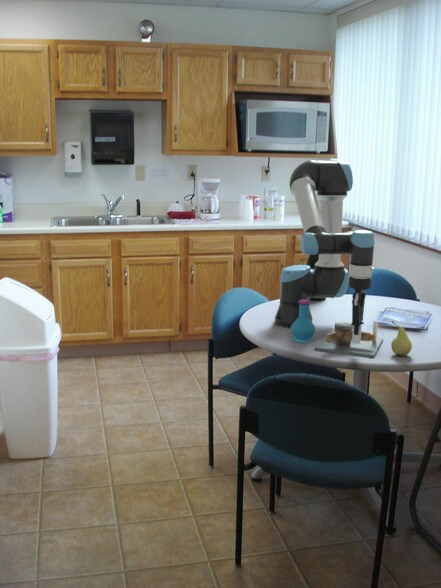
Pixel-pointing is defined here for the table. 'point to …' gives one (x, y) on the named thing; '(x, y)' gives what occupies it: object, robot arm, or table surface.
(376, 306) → the table surface
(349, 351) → the stand
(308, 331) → the perfume bottle
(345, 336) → the capstan
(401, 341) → the fruit
